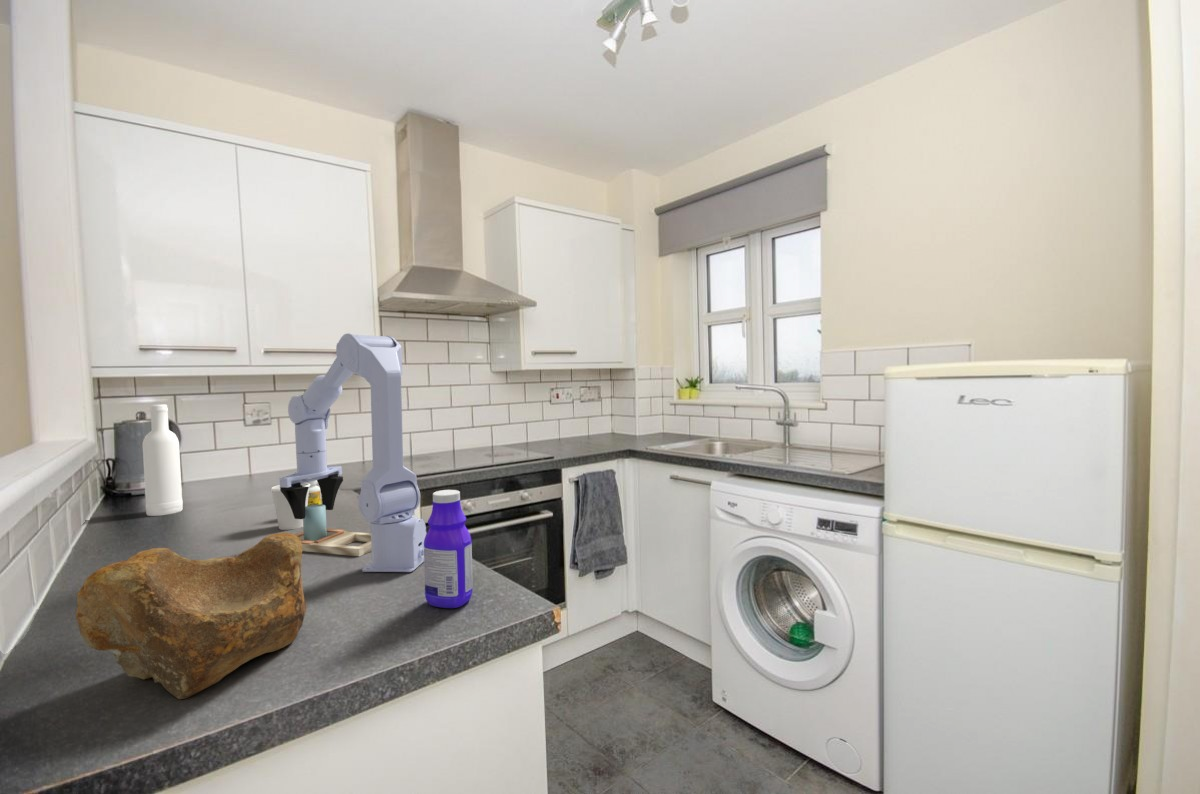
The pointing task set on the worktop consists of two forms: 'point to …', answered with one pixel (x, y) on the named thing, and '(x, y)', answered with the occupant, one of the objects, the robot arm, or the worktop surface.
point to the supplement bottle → (314, 493)
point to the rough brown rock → (194, 611)
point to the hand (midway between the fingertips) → (314, 514)
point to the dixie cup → (286, 509)
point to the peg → (315, 522)
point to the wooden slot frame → (338, 543)
